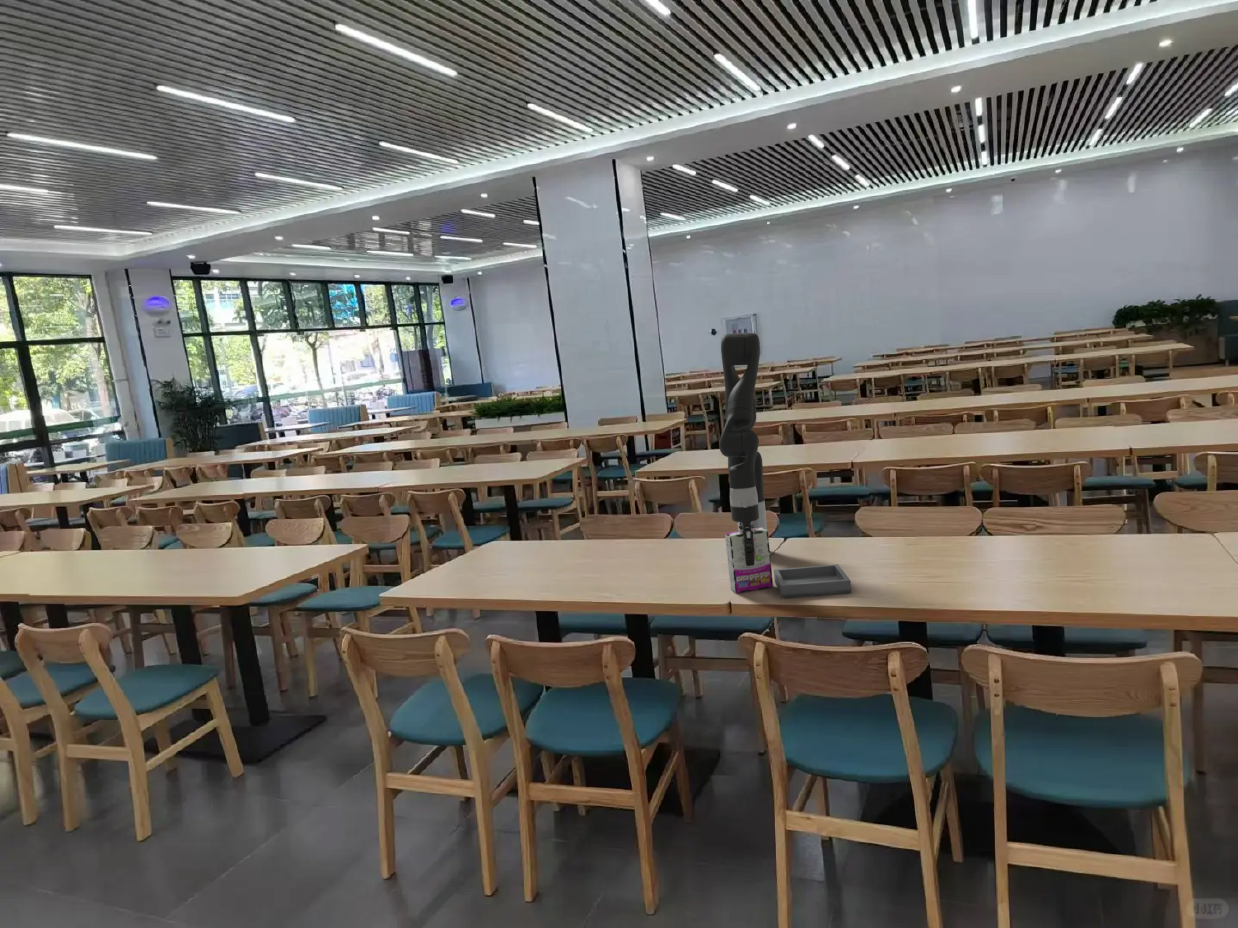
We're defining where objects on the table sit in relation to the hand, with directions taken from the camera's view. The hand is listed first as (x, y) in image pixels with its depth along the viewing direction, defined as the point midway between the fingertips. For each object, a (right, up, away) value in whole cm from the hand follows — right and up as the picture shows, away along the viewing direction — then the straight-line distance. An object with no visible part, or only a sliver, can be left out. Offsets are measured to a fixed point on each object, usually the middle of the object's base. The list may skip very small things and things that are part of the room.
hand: (749, 562), depth 221 cm
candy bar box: (+1, -8, +1) cm, 8 cm away
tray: (+16, -6, -3) cm, 18 cm away
